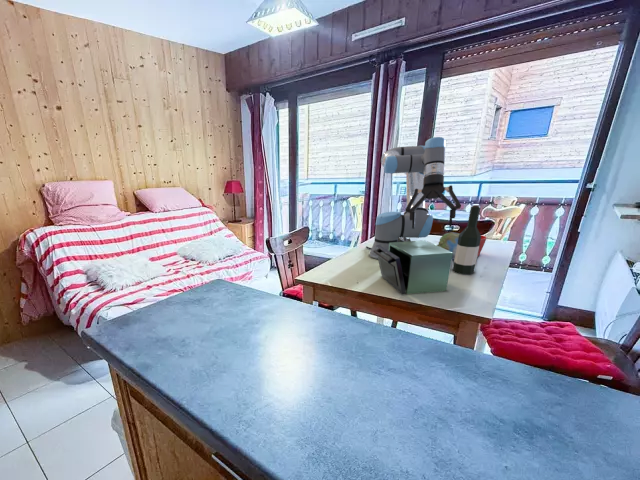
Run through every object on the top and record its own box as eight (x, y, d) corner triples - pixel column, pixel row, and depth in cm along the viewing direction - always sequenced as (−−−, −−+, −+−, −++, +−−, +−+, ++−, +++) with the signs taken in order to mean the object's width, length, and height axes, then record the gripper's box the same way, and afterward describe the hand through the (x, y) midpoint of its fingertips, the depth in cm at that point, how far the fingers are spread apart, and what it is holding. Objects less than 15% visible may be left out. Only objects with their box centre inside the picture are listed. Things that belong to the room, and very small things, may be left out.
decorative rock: (469, 231, 154) (460, 225, 168) (432, 240, 160) (427, 234, 173) (474, 258, 157) (465, 251, 171) (438, 266, 163) (432, 259, 177)
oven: (406, 294, 130) (411, 255, 124) (385, 276, 148) (389, 242, 142) (446, 291, 130) (453, 252, 124) (420, 274, 149) (425, 240, 143)
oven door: (396, 296, 130) (389, 261, 124) (377, 278, 148) (370, 247, 143) (406, 293, 130) (399, 257, 124) (385, 276, 148) (378, 244, 142)
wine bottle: (472, 275, 144) (487, 206, 132) (451, 272, 148) (463, 205, 137) (474, 269, 150) (488, 203, 139) (453, 267, 154) (465, 202, 143)
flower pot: (482, 252, 172) (486, 234, 169) (482, 258, 164) (486, 239, 160) (459, 250, 178) (462, 233, 174) (458, 256, 169) (461, 237, 166)
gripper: (400, 177, 138) (397, 226, 137) (470, 169, 126) (468, 223, 125) (401, 182, 144) (399, 230, 144) (468, 175, 132) (466, 227, 132)
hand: (431, 227), depth 135 cm, fingers open, 13 cm apart
